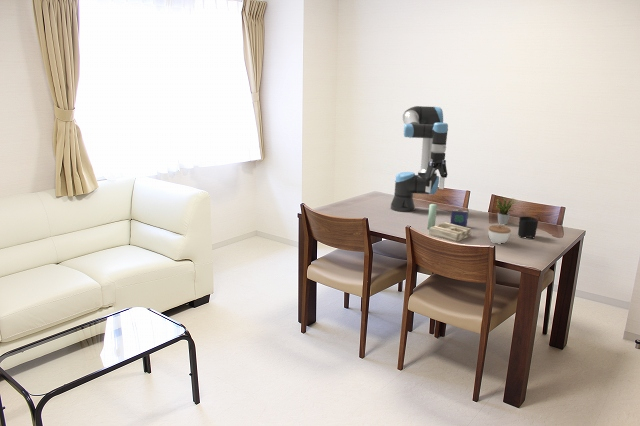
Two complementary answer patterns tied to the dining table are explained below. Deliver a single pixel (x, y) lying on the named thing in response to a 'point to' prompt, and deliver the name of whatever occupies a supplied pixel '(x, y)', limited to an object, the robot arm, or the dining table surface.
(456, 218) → the blue green box
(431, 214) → the dowel
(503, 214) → the house plant
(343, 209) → the dining table surface
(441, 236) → the socket board
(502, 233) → the lidded jar
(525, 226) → the pen holder
